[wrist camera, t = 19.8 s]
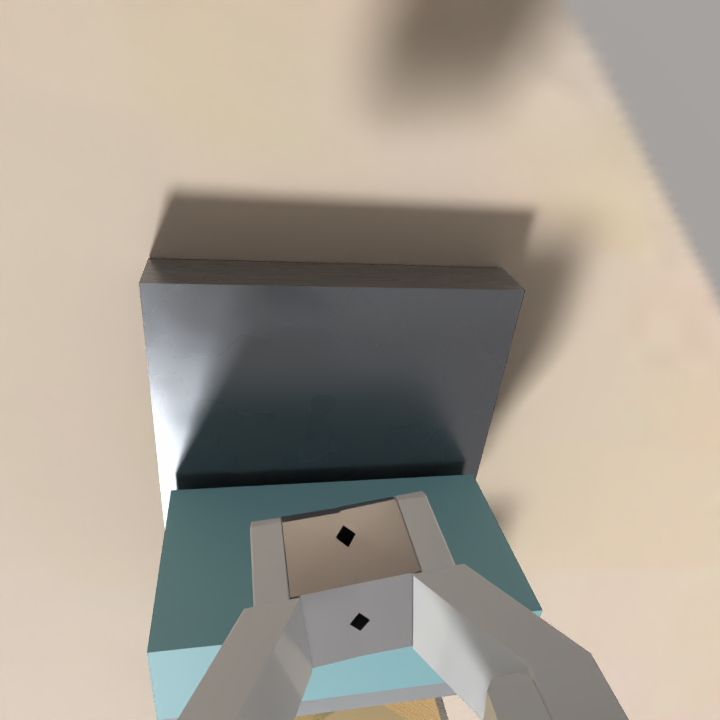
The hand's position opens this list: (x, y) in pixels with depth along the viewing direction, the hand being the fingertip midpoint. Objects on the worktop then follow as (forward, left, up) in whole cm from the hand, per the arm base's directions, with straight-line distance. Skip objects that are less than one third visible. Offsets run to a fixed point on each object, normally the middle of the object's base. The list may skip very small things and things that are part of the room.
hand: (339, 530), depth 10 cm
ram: (-5, -1, -5) cm, 7 cm away
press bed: (-7, -1, -7) cm, 9 cm away
